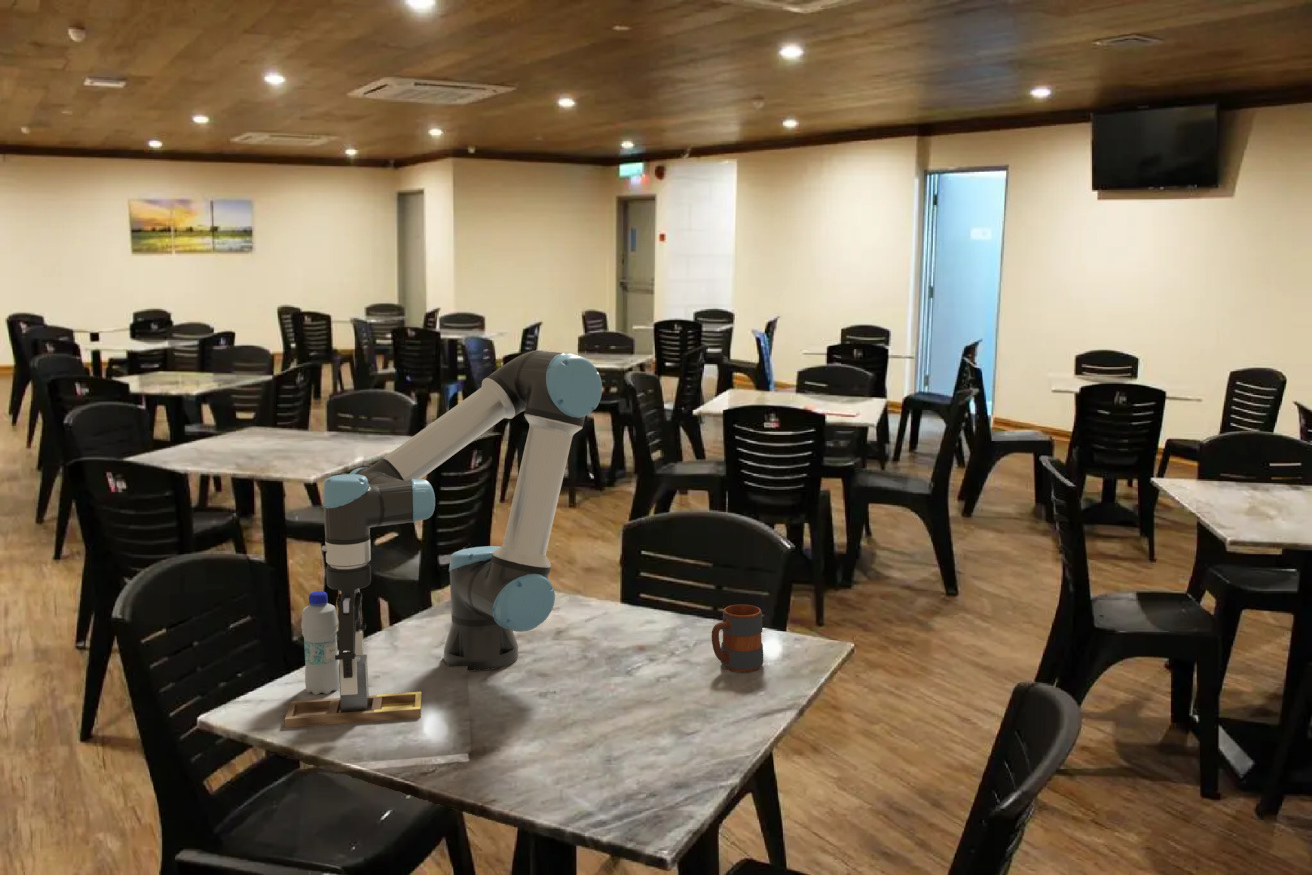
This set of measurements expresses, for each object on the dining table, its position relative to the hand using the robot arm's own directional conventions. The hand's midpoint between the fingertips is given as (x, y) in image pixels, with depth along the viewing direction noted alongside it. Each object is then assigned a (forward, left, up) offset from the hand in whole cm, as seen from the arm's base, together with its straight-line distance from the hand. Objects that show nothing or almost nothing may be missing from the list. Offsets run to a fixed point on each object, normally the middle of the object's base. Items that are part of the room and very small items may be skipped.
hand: (352, 679), depth 196 cm
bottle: (+7, -13, -8) cm, 17 cm away
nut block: (0, 0, -6) cm, 6 cm away
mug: (-73, -12, -8) cm, 75 cm away
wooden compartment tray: (0, 0, -7) cm, 7 cm away
